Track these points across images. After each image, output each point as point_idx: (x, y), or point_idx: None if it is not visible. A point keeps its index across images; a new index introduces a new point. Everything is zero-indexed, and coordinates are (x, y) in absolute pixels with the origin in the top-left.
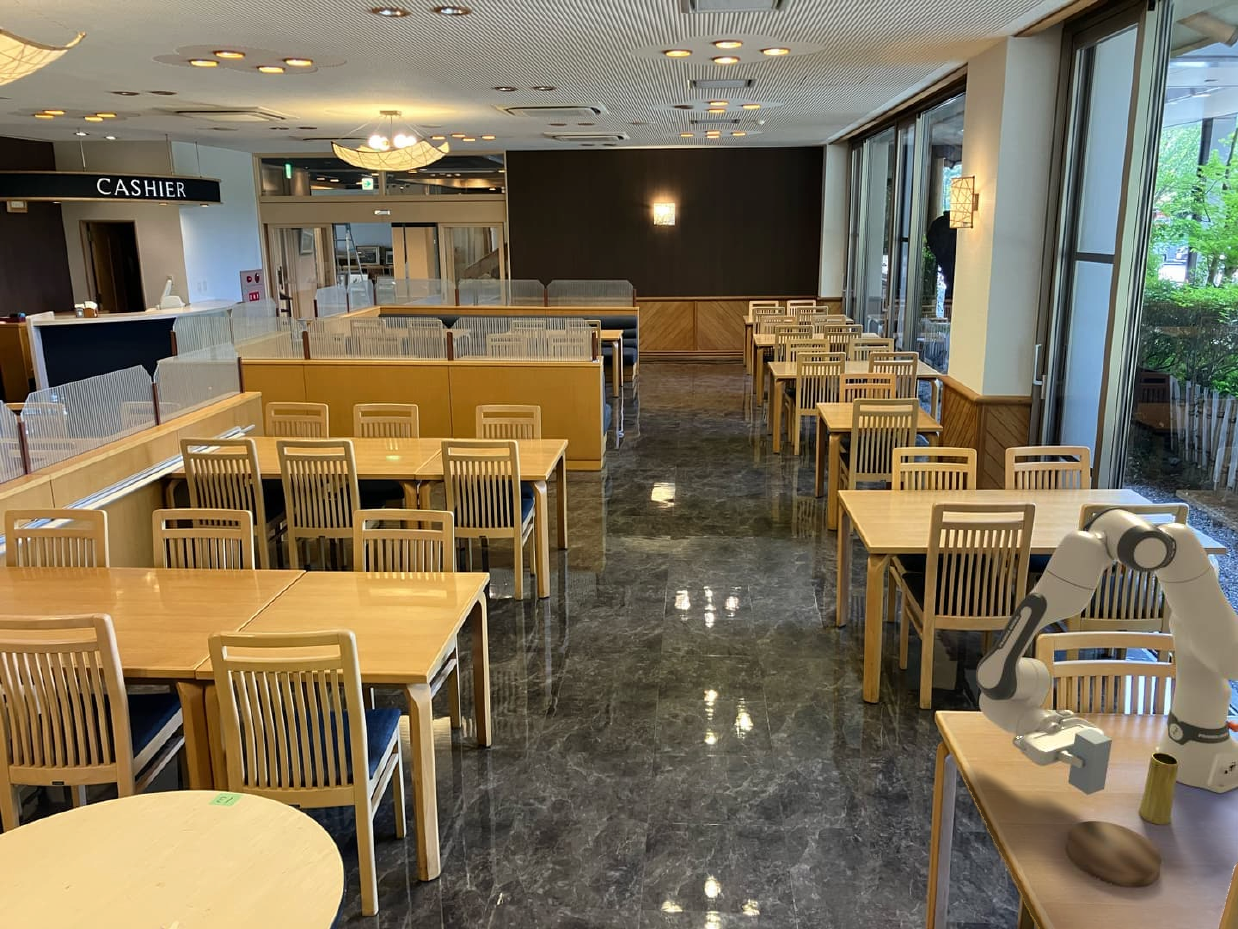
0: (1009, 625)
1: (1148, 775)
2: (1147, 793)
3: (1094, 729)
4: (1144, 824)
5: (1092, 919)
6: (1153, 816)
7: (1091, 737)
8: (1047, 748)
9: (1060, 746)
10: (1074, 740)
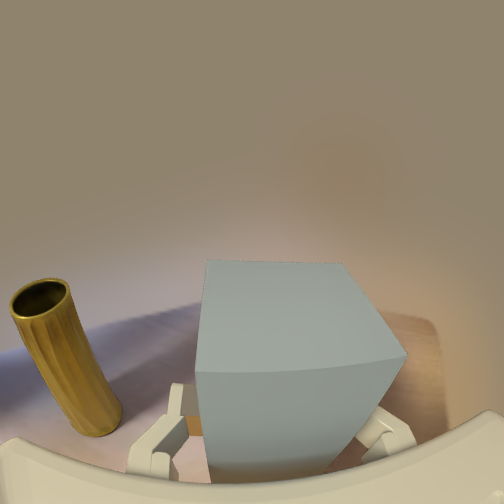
0: None
1: (66, 367)
2: (95, 388)
3: (13, 490)
4: (137, 413)
5: (392, 312)
6: (115, 398)
7: (321, 297)
8: (481, 431)
9: (420, 452)
10: (382, 397)
